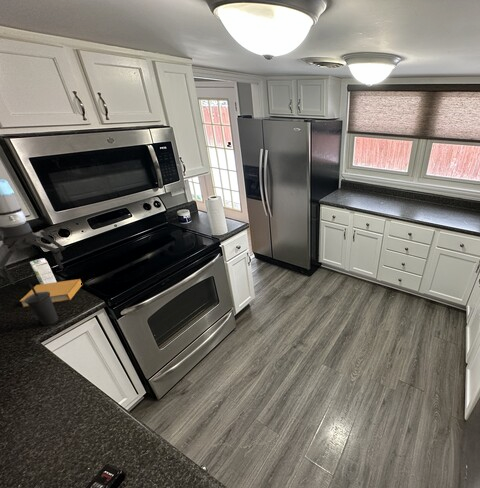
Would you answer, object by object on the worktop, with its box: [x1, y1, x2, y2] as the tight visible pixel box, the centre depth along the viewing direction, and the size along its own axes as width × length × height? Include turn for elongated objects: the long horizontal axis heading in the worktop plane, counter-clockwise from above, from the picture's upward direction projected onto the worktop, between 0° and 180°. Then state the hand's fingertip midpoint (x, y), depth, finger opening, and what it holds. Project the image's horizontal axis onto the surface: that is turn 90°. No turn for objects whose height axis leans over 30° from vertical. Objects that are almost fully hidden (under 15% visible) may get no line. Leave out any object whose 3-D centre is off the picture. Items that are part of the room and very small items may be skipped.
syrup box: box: [29, 257, 58, 285], centre depth 138 cm, size 6×6×14 cm
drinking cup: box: [24, 283, 59, 326], centre depth 112 cm, size 8×8×20 cm
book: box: [19, 278, 83, 308], centre depth 133 cm, size 18×14×4 cm
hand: (38, 274), depth 102 cm, fingers open, 13 cm apart
